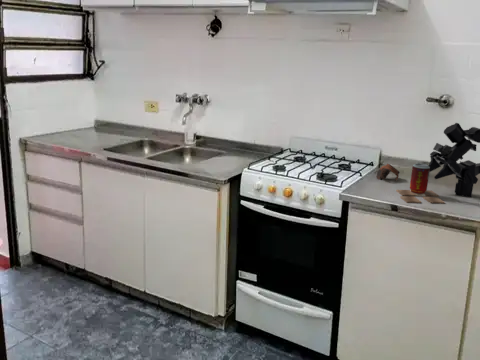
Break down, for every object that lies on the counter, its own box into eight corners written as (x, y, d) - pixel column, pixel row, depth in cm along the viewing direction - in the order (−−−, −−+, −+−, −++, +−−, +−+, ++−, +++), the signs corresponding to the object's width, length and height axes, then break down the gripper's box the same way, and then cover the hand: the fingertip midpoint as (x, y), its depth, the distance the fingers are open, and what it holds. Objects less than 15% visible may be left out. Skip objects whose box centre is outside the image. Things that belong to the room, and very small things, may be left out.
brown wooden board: (431, 191, 222) (431, 190, 221) (438, 196, 215) (438, 195, 215) (396, 191, 220) (396, 189, 220) (402, 195, 213) (402, 194, 213)
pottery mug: (377, 176, 246) (387, 162, 244) (392, 187, 242) (403, 174, 240) (371, 174, 235) (382, 160, 233) (387, 187, 232) (398, 172, 230)
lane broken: (436, 198, 212) (437, 196, 212) (444, 203, 206) (444, 202, 205) (400, 197, 211) (400, 196, 211) (406, 202, 204) (407, 201, 204)
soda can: (424, 190, 220) (428, 163, 217) (427, 195, 214) (432, 167, 210) (407, 189, 221) (411, 162, 218) (410, 194, 214) (414, 166, 211)
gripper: (437, 133, 220) (409, 157, 223) (458, 141, 203) (428, 168, 205) (451, 150, 223) (424, 174, 225) (474, 160, 205) (444, 186, 207)
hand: (430, 175), depth 216 cm, fingers open, 9 cm apart
